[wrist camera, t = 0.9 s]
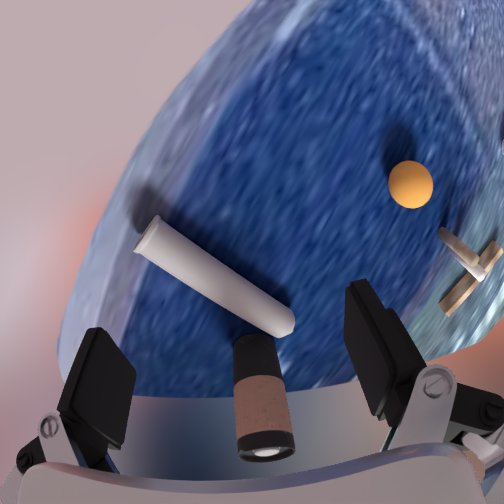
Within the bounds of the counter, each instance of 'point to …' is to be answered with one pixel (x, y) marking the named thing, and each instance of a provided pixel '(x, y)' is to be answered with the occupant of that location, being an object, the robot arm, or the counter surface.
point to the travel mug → (260, 401)
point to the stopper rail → (470, 279)
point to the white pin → (475, 271)
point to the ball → (410, 184)
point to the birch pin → (458, 247)
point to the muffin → (502, 146)
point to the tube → (213, 278)
